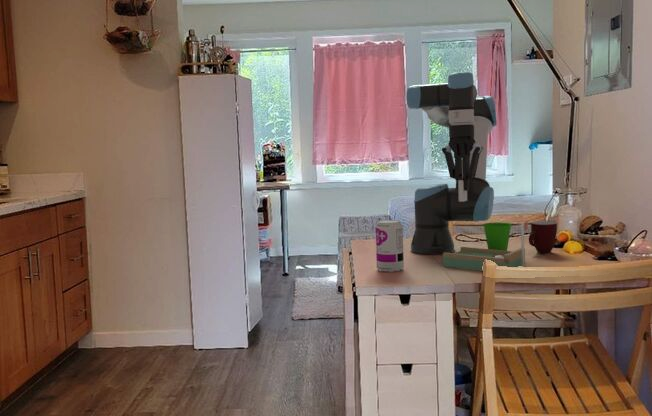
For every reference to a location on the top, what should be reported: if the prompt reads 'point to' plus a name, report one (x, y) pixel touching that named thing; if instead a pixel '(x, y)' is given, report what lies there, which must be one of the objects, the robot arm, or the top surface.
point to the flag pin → (523, 227)
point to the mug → (543, 236)
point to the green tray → (482, 258)
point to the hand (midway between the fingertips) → (463, 200)
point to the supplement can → (389, 245)
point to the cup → (497, 235)
